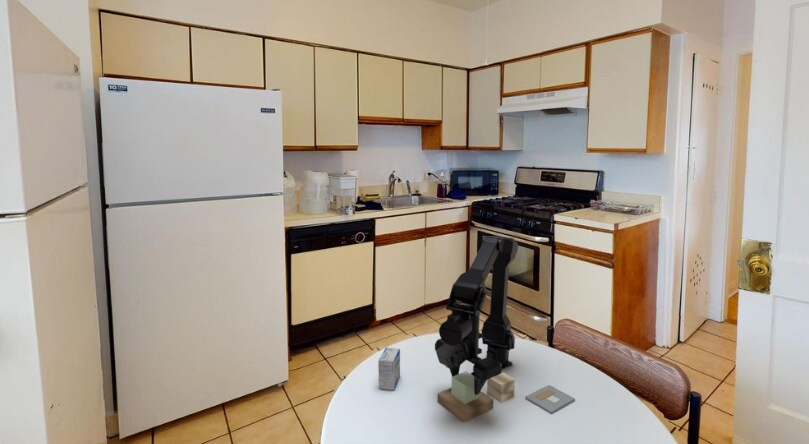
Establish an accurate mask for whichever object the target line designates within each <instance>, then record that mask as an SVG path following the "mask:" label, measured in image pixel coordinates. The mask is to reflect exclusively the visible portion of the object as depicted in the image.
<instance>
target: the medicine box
mask: <svg viewBox="0 0 809 444" xmlns="http://www.w3.org/2000/svg"><path fill="white" fill-rule="evenodd" d="M383 350H384V351H383V352H382V353H381V356H380V357H379V359H378V363H377V364H378V365H377V368H378V370H377V371H378V389H379V390H387V391H395V389H396V387H397V385H398V381H399V379H400V378H401V349H400V348H398V347H384V349H383Z"/></svg>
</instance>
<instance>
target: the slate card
mask: <svg viewBox="0 0 809 444" xmlns="http://www.w3.org/2000/svg"><path fill="white" fill-rule="evenodd" d="M524 399H525V400H526V401H528V402H530V403H532V404H533V405H535V406H537V407H538V408H540V409H541V410H543V411H545V412H547V413H548V414H550V415H553V414H554V413H556V412H557V411H559V410H561V409H563V408H565V407H566V406H569V404H572V403H573V402H575V401H576V398H575V397H573V396H571V395H569V394H567V393H565V392H563V391H562V390H559V389H558V388H556V387H554V386H552V385H550V384H547V385H545V386H544V387H542V388H540V389H537V390H536V391H534V392H532V393H530V394H528V395H526V396H525V397H524Z"/></svg>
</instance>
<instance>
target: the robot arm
mask: <svg viewBox="0 0 809 444" xmlns="http://www.w3.org/2000/svg"><path fill="white" fill-rule="evenodd" d="M518 250H519V243H518V241H516V240H515V238H514V237H507V236H498V235H491V236H490V235H486V236H484V237H483V239H482V240H481V246H480V248H479V250H478V252H477V254H476V255H475V257H474V259H473V261H472V263H471V265H470V266H469V269H468V270H467V271H465V272H463V273H462V274H460V275H459V277H457V279H456V280H455V281H454V282H453V284H452V287H451V290H450V293H449V297H448V300H447V303H446V307H445V310H446V311H451V313H450V314H448V315H447V317H446V320H445V321H444V322H441V324H440V325H439V328H438V335H439V337H440V338H438V339H437V340H436V341H435V343H434V351H435V353H436V357H437V359H438V362H439V363H440V364H441V365H443V366H444V367H446V368H448V369H449V371H450V374H451V378H452V377H453V376H455V375H458V374H460V369H461V366H462V365H463V363H465V362H466V361H467V362H469V363H471V364H473V366H472V372H470V374H471V375H472V376H473V377H474V393H475V395H478V394H479V393H480V391H481V392H482V389H483V387H484V386H485V384H486V382H487V380H488V379H490V378H492V377H494V376H497V375H499V374H501V373H502V372H503V369H505V368H507V367H509V366H512V365H513V362H512V361H510V360H509V356H510V355H509V354H510V351H511V350H514V349H515V343H516V337H515V334H514V333H513V331H512V323H511V321H510V319H509V317H508V316H507V301H508V288H509V286H508V285H509V275H510V274H509V272H510V271H509V270H510V266H511V265H512V263H513V262H514V260H515V259H516V256H517V253H518ZM491 269H492V272H491ZM490 273H492V275H491V289H490V308H489V314H488V316H487V317H486V318H485V321H484V322H483V323H482V327H481V332H480V318H481V317H480V316H481V315H480V313H481V312H482V310H483V307H484V304H485V301H486V298H487V288H486V283H485V282H486V281H487V278H488V276H489V274H490ZM479 339H482V340H481V343H482V345H486V346H487V347H486V348H487V350H486V353H485V354H486V356H485V357H484V358H482V357H480V356H479V355H480V354H482V353H483V352H482V351H483V350H482V348H480V347H479V344H480V343H479V342H480V341H479Z"/></svg>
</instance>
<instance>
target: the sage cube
mask: <svg viewBox="0 0 809 444" xmlns="http://www.w3.org/2000/svg"><path fill="white" fill-rule="evenodd" d="M450 388H451V395H452V396H454V397H455V398H456V399H458V400H459V401H461V402H462V403H463V404H467V403H469V402H471V401H473V400H475V399H477V398H479V394H478V395H475V393H474V377H473V376H472V375H471V372H468V371H467V370H465V371H463V372H459V374H458V375H455V376H453V377H452V376H451V387H450Z"/></svg>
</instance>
